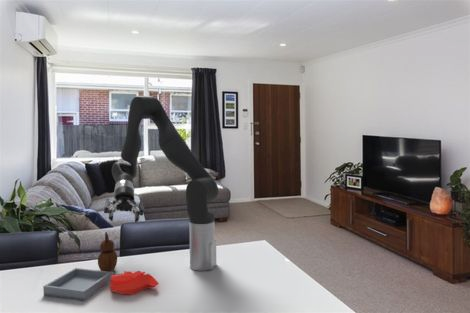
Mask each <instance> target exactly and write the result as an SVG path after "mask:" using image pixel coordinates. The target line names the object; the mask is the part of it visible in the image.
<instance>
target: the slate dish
mask: <svg viewBox="0 0 470 313" xmlns="http://www.w3.org/2000/svg"><path fill="white" fill-rule="evenodd" d="M112 275H114V274H113V271H111V272H108V271H101V270H100V269H98V270H97V269H90V268H89V269H88V268H78V267H75V268H73V269H72V270H70V271H67V272H66V273H64V274H62V275H60V276H58V277H57V278H55V279H54V280H52V281H50V282H48V283H47V284H45V285H43V288H42V289H43V290H42V291H43V296H45V297H52V298H60V299H67V300H74V301H81V302H86V301H87V300H88V299H90V298H91V297H92V296H94V295H95V294H96V293H97V292H99V291H101V290H102V289H103V288H104V287H106V286H107V285H108V284H109V285H110V283H111V276H112Z"/></svg>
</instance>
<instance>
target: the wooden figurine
mask: <svg viewBox="0 0 470 313" xmlns="http://www.w3.org/2000/svg"><path fill="white" fill-rule="evenodd" d="M104 236H105V237H104V240H102V241H101V243H100V244H99V245H100V246H99V250H100V251H101V252H100V253H99V255H98V258H97V265H98V268H99V271H108V272H113V271H114V270H115V269H116V268H117V267H116V266H117V264H118V254H117V251H116V250H115V249H114V248H115V242H114V241H113V240H112V239H109V234H108V232H105V234H104Z"/></svg>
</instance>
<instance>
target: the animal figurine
mask: <svg viewBox="0 0 470 313" xmlns="http://www.w3.org/2000/svg"><path fill="white" fill-rule="evenodd" d="M158 285H159V281H157V279H156V278H155V277H154V276H153V275H151V274H149V273H146V271H140V270H137V271H134V272H133V271H124V273H119V274H116V275H114V274H113V275H112V276H111V282H110V283H109V288H110V292H115V293H116V294H121V295H136V294H137V293H139V292H141V291H143V290H145V289H153V288H156V287H157V286H158Z"/></svg>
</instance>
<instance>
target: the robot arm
mask: <svg viewBox="0 0 470 313" xmlns="http://www.w3.org/2000/svg"><path fill="white" fill-rule="evenodd" d="M127 117H128V118H127V119H128V120H127V127H126V136H125V139H124V143H123V146H122V150H121V153H120V157H121V159H122V160H123V161H124V162H123V161H116V162H114V163H113V164H112V167H111V174H112V175H111V176H112V177H113V179H114V182H115V184H114V185H115V186H114V191H113V200H110V198H109V197H107V198H106V199H105V202H104V208H103V214H108V219H109V221H110V222H113V220H114V214H115V213H117V212H118V211H119V212H129V213H130V214H133V215H134V223H138V222H139V220H140V216H144V211H145V206H144V201H143V200H140V201H138V202H136V201H135V187H134V179H135V178H136V176H137V174H138V173H137V172H138V170H137V168H138V166H137V165H138V164H137V163H138V157H139V154H140V152H141V148H142V137H141V134H140V124H141V123H142V120H147V119H148V120H149V119H150V120H151V121H152V123H153V124H155V126H156V128H157V130H158V145H159V147H160V150H161V151H162V153H163V154H164V156H165V157H166V158H167V159H168V161H169V162H170V163H171V164H172V165H174V166H175V167H177V168H178V169H180V170H181V171H182V172H184V174H186V175H187V176H188V177H189V179H191V180H190V181H189V182H188V183H187V185H186V189H185V199H186V202H185V203H186V212H187V213H186V214H187V216H188V220H189V221H188V223H189V267H190V268H189V269H192V270H193V271H199V272H200V271H201V272H204V271H213V270H214V268H215V267H216V265H217V239H215V213H214V212H213V211H210V210H209V209H208V202H212V201H214V200H215V199H217V197H218V195H219V187H218V184H217V182H216V181H215V179H214V178H213V177H212V175H211V174H210V173H209V172H208V170H206V169H205V167H204V166H203V165H202V164H201V163H200V161H199V160H198V159H197V157H196V155H195V154H194V153H193V152H192V150H191V149H190V147H189V146H188V144H187V142H186V141H185V139H183V136H181V134H180V133H179V132H178V130H177V129H176V126H175V125H174V124H173V123H172V121H171V119H170V118H169V116H168V114H167V112H166V110H165V108H164V107H163V105H162V103H161V101H160V100H159V99H158V97H155V96H152V95H137V96H134V97H133V98H132V100H131V102H130V105H129V110H128V116H127ZM111 205H112V206H111ZM110 206H111V207H110Z"/></svg>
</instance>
